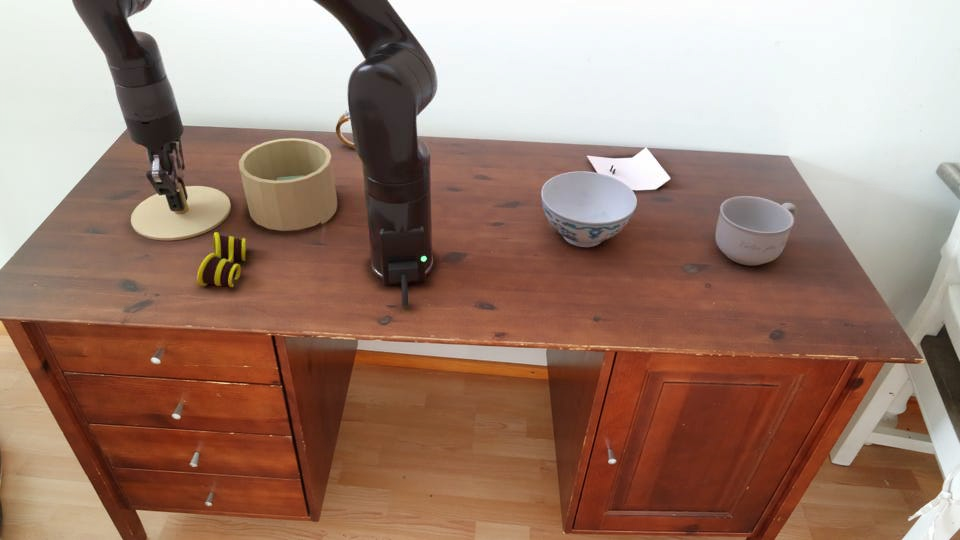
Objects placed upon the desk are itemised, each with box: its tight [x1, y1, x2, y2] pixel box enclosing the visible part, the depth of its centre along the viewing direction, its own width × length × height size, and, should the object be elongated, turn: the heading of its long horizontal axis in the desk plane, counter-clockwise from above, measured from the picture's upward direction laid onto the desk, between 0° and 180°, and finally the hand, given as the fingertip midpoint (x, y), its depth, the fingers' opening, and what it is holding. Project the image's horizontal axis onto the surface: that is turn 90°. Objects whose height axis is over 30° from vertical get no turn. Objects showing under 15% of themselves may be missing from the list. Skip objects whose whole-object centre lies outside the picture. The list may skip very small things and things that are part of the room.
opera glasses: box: [196, 231, 247, 288], centre depth 97 cm, size 10×5×5 cm, turn 4°
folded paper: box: [586, 147, 671, 191], centre depth 123 cm, size 12×12×2 cm
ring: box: [335, 110, 356, 150], centre depth 126 cm, size 7×3×8 cm, turn 82°
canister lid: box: [130, 182, 232, 242], centre depth 107 cm, size 15×15×6 cm
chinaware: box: [540, 170, 638, 248], centre depth 106 cm, size 15×15×8 cm
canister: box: [238, 137, 338, 232], centre depth 109 cm, size 14×15×10 cm
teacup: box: [715, 195, 798, 266], centre depth 104 cm, size 14×11×8 cm
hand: (179, 204), depth 108 cm, fingers closed on canister lid, 2 cm apart
